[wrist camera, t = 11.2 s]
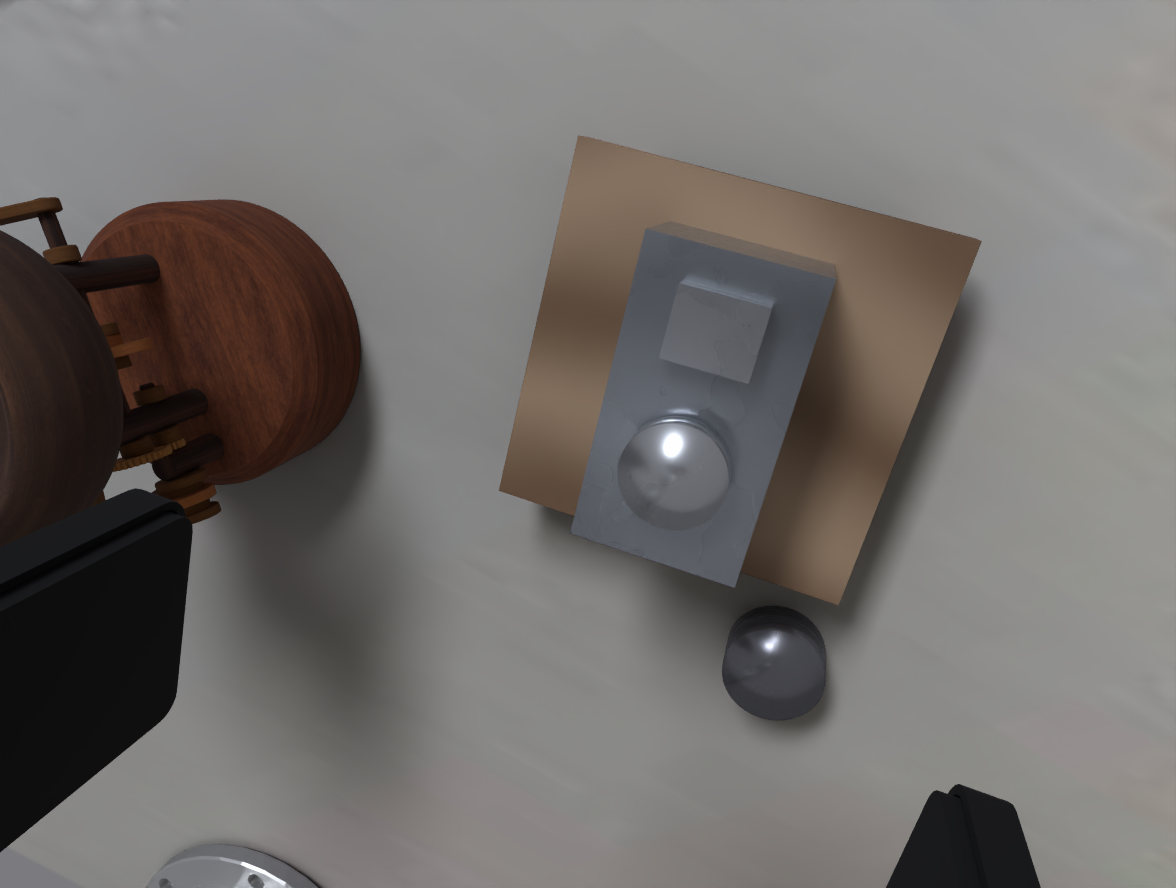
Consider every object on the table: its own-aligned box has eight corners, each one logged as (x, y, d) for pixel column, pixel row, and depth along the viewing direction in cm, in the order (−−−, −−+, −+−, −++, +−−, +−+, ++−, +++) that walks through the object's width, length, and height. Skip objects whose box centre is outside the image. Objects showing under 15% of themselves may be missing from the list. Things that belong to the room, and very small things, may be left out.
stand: (837, 566, 31) (838, 605, 28) (526, 464, 33) (499, 490, 30) (965, 234, 27) (981, 241, 24) (601, 139, 29) (578, 135, 26)
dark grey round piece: (806, 703, 33) (805, 734, 31) (716, 669, 34) (709, 698, 32) (839, 624, 32) (839, 651, 30) (744, 591, 33) (739, 616, 31)
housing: (834, 264, 25) (836, 283, 21) (746, 534, 29) (731, 604, 24) (670, 221, 26) (637, 231, 22) (602, 488, 29) (560, 546, 25)
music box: (433, 445, 34) (-92, 788, 16) (236, 516, 39) (-342, 845, 21) (255, 60, 31) (-611, -42, 13) (66, 186, 36) (-768, 234, 18)
